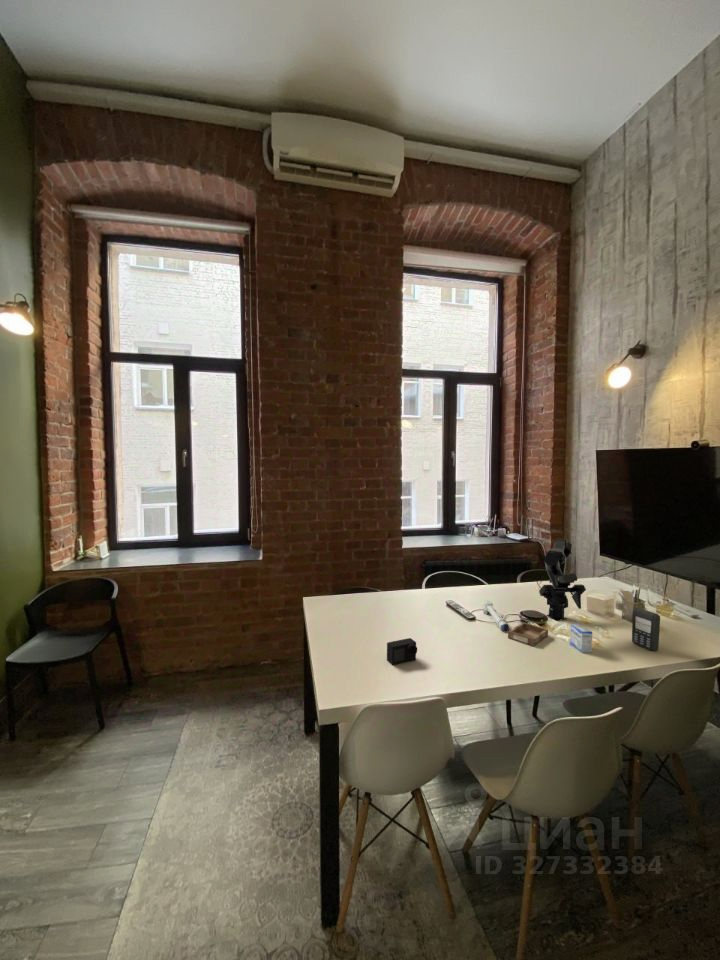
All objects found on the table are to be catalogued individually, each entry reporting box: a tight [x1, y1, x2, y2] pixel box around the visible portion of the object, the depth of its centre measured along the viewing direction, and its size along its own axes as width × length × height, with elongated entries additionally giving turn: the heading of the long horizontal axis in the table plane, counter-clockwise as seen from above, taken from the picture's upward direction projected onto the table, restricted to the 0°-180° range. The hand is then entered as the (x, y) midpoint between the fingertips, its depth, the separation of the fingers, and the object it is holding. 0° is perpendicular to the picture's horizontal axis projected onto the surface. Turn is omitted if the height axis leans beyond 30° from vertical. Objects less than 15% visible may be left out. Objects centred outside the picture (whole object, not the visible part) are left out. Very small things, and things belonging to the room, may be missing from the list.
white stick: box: [482, 600, 510, 633], centre depth 192 cm, size 5×7×25 cm
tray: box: [507, 622, 549, 648], centre depth 174 cm, size 15×11×3 cm
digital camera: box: [386, 637, 418, 666], centre depth 151 cm, size 10×5×7 cm, turn 116°
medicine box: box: [569, 623, 593, 654], centre depth 164 cm, size 8×4×9 cm, turn 5°
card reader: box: [631, 607, 661, 652], centre depth 166 cm, size 9×4×15 cm, turn 23°
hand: (569, 608), depth 171 cm, fingers open, 9 cm apart
